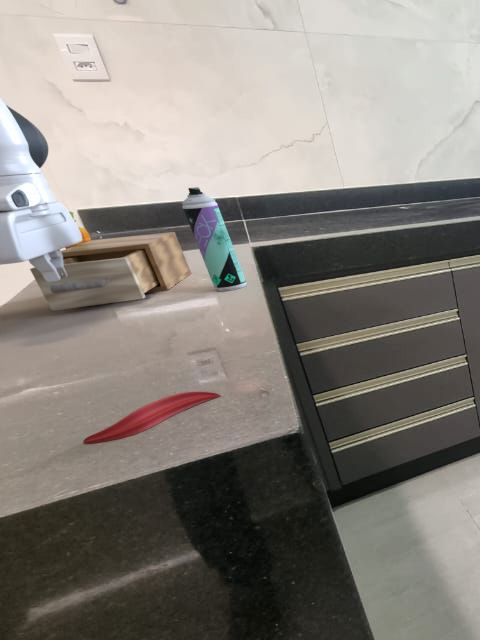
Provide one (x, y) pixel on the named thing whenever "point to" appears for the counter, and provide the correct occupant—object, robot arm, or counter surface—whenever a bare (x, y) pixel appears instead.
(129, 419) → the cayenne pepper
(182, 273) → the cabinet
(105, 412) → the counter surface
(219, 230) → the spray can
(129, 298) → the drawer
